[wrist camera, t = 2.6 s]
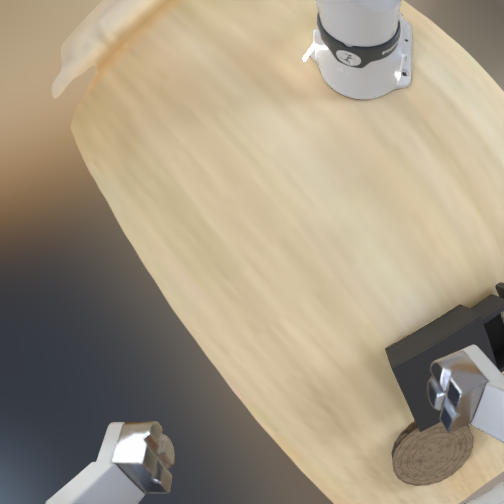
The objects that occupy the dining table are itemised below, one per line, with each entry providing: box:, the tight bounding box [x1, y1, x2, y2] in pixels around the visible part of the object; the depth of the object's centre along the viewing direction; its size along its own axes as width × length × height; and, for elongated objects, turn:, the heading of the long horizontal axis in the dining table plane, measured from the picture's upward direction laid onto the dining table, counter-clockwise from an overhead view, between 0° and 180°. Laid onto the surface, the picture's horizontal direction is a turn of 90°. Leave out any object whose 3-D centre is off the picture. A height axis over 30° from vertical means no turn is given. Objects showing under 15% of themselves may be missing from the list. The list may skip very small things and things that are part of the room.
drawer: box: [470, 282, 504, 373], centre depth 38 cm, size 18×11×7 cm, turn 120°
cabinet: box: [385, 304, 498, 432], centre depth 41 cm, size 15×13×9 cm
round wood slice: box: [392, 422, 474, 486], centre depth 43 cm, size 16×16×3 cm
